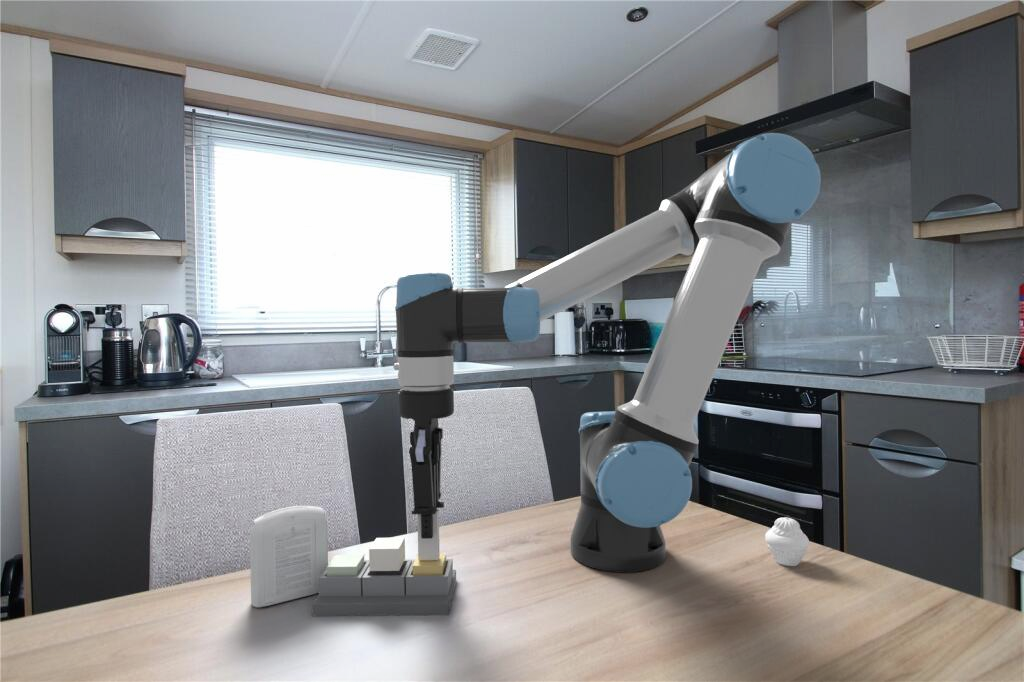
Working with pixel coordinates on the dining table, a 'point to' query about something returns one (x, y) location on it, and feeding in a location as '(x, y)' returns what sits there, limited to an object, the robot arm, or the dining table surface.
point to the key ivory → (387, 554)
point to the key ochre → (430, 566)
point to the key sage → (345, 565)
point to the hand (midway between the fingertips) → (429, 557)
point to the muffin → (787, 542)
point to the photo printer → (287, 554)
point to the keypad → (385, 592)
